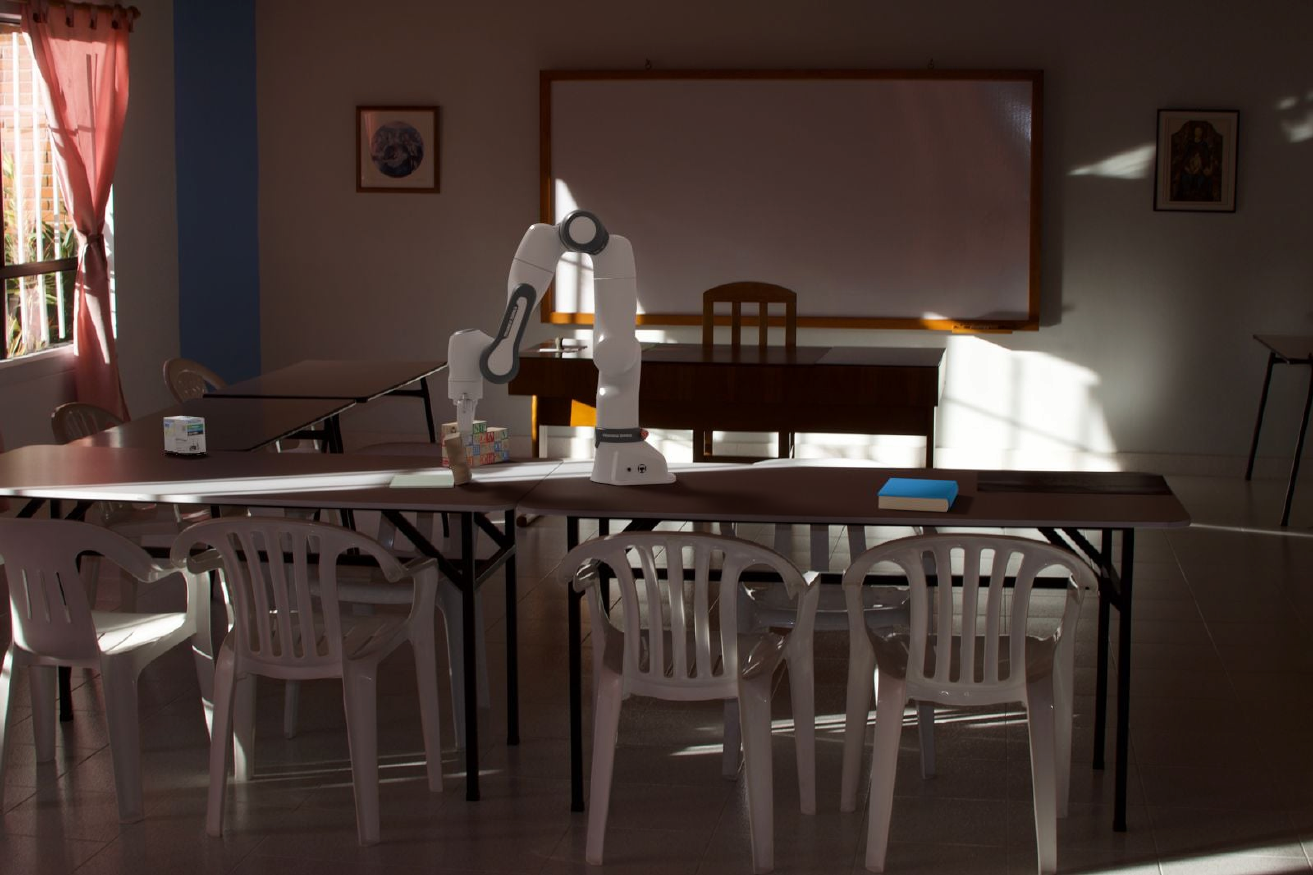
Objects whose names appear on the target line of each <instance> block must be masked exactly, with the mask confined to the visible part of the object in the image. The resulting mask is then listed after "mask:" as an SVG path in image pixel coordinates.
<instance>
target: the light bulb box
mask: <svg viewBox="0 0 1313 875" xmlns="http://www.w3.org/2000/svg"><path fill="white" fill-rule="evenodd" d="M205 431H206V427H205V418H204V417H196V416H195V417H194V416H186V415H184V416H183V415H179V416H178V415H177V416H168V417H167V416H166V417H165V416H164V417H163V432H164V434H163V435H164V436H163V437H164V451H165V450H167V451H173V452H178V453H200V452H206V453H207V450H206V448H207V447H206V432H205Z"/></svg>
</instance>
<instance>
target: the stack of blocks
mask: <svg viewBox="0 0 1313 875" xmlns="http://www.w3.org/2000/svg"><path fill="white" fill-rule="evenodd" d="M458 432H461V431H458V430H457V421H455V422H449V423H444V424H443V423H442V424H441V448H442V449H441V454H442V455H441V456H442V457H441V464H442V465H441V467H442V468H445V467H451V466H450V462H449V458H448V455H447V451H446V447H445V444H444V438H445V436H446V435H450V434H454V433H458ZM461 436H462V434H461ZM464 447H465V451H466V454H467V458H468V462H469V465H470V468H472V467H473V468H474V467H478V466H483V465H488V464H489V465H490V464H494V463H498V462H500V463H501V462H504V461H509V456H510V455H509V454H510V453H509V429H508V428H505V427H493V426H492V427H491V426H490V427H488V421H487V420H476V419H474V422H473V425H472V429H471V431H470V437H469V445H464ZM495 456H496V457H495Z"/></svg>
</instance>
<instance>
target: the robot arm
mask: <svg viewBox="0 0 1313 875" xmlns="http://www.w3.org/2000/svg"><path fill="white" fill-rule="evenodd" d="M565 253H577V254H586V255H588V256H589V258H590V259H591V263H592V268H593V273H592V274H593V296H594V297H593V302H594V304H593V305H594V312H593V313H594V315H593V330H592V360H593V364H594V365H595V367H596V368H597V369H598V371H599V372H598V382H597V390H596V392H597V393H596V397H595V399H596V405H595V407H596V410H595V411H596V412H595V413H596V415H595V416H596V418H595V419H596V424H595V425H596V426H594V432H593V433H594V434H593V436H594V437H593V438H594V439H593V440H594V441H593V443H594V444H593V445H594V448H595V454H594V462H593V467H592V471H591V474H590V478H589V480H590V481H591V482H592V481H593V482H595V483H601V484H609V485H614V486H630V485H631V486H632V485H633V486H635V485H636V486H637V485H657V484H660V485H661V484H673V483H674V482H676V481H677V477H676V475H675V474H674V473H672V472H670V471H669V468H668V463H667V460H666V457H665V456H664V455H663V453H662V452H660V451H659V450H658V449H657V448H655V447H654V446H653V445H651V444H650V443H649V442H648V441H646V440H647V438H648V437H649V436H650V432H649V430H647V429H644V428H642V427H641V426H639V395H640V394H639V393H640V383H641V371H642V370H641V368H642V346H641V343H640V341H639V339H638V338H637V337H636V325H637V323H636V322H637V311H638V301H637V300H638V299H637V298H638V297H637V274H636V272H637V271H636V263H635V256H634V251H633V247H632V243H631V242H630V240H629V239H628V238H626V237H625V236H622V235H619V234H609V231H608V230H607V229H606V227H605V226H604V224H603V222H602V220H601V219H600V217H599V216H598V215H597V214H596V213H595V212H594V211H591V210H589V209H584V208H582V209H581V208H578V209H574V210H571V211H570V212H568V213H567V214H566V215H565V216H564V217H563V219H562V220H560V222H558V223H557V224H556V225H552V224H548V223H535V224H532V225H530V227H529V228H528V229H527V231H526V232H525V234H524V236H523V238H522V239H521V241H520V243H519V245H518V247H517V250H516V252H515V254H514V257H513V260H512V263H511V267H510V271H509V275H508V281H507V302H506V307H505V311H504V313H503V316H502V320H501V323H500V325H499V328H498V331H497V333H496V336H495V337H494V338H493V337H491V336H489V335H487V334H485V333H484V332H482V330H480V329H479V328H476V327H475V328H467V329H460V330H456V331H455V332H454V333H453V334H452V335H451V336H450V337H449V341H448V342H449V343H448V347H447V348H448V350H447V363H448V369H449V373H448V374H449V375H448V378H447V379H448V380H447V381H448V382H447V384H448V386H447V387H448V388H447V390H448V395H447V396H448V399H451V400H452V402H453V404H452V405H454V406H456V422H457V430H458V431H461V434H462V444H463V445H469V437H470V431H471V429H472V425H473V422H474V420H475V415H476V407H477V405H478V404H479V402H478V401H479V400H480V399H483V398H484V397H483V394H484V392H483V389H484V388H483V387H484V386H483V384H484V383H483V382H484V381H483V379H485V380H487V382H490V383H492V384H494V385H504V384H507V383H510V382H511V381H513V380H514V379H515V378H516V376H517V375H518V373H519V371H520V353H519V352H520V351H519V350H520V346H521V342H522V340H523V337H524V334H525V331H526V328H527V325H528V323H529V320H530V317H531V316H532V314H533V311H534V310H535V309H536V307H537V305H538V304H539V303H540V301H541V300H542V298H543V297H544V295H545V294H546V292H547V290H549V289H548V288H549V287H550V285H551V283H552V281H553V278H554V275H555V273H556V269H557V267H558V264H559V262H560V260H561V258H562V256H563V255H565Z"/></svg>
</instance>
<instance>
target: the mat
mask: <svg viewBox="0 0 1313 875" xmlns="http://www.w3.org/2000/svg"><path fill="white" fill-rule="evenodd" d="M454 485H455V480H454V477H453V473H452V474H451V473H449V474H395V475H394V477H393V478H392V481H391V482H390V485H389V489H427V488H428V489H443V488H444V489H446V488H449V489H450V488H451V489H452V488H454Z"/></svg>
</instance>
